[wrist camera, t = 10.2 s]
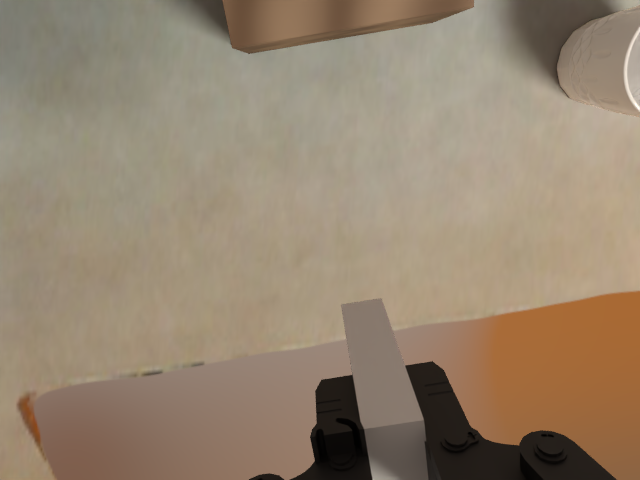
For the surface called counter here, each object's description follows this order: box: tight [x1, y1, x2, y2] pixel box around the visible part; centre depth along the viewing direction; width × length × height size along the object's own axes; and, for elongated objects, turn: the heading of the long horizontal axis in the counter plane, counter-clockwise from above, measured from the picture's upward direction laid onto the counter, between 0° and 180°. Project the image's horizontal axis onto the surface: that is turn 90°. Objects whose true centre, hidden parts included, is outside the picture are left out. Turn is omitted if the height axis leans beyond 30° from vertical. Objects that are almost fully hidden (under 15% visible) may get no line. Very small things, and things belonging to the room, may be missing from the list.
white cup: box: [557, 5, 640, 117], centre depth 36 cm, size 8×8×10 cm
